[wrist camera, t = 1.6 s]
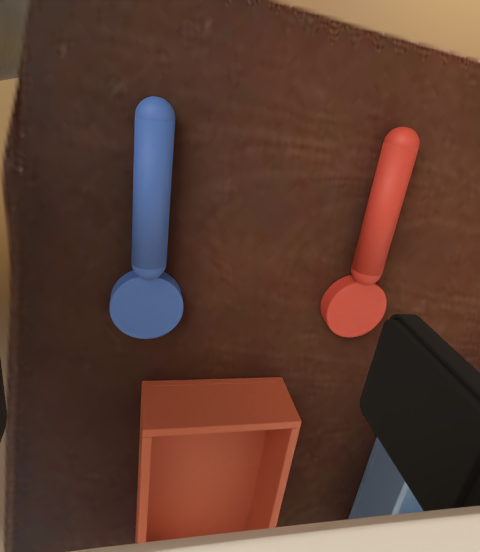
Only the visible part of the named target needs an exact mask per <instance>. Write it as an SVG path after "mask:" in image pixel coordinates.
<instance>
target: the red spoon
mask: <svg viewBox="0 0 480 552" xmlns="http://www.w3.org/2000/svg"><path fill="white" fill-rule="evenodd" d="M419 145H420V142H419V137H418V135H417V133H416V132H415V131H414V130H413V129H411V128H408V127H398V128H395V129H393V130H391V131H390V132H389V133H388V134H387V135H386V137H385V139H384V142H383V145H382V149H381V153H380V157H379V161H378V165H377V169H376V173H375V176H374V180H373V184H372V188H371V192H370V196H369V200H368V204H367V207H366V211H365V215H364V219H363V223H362V227H361V231H360V235H359V239H358V242H357V246H356V250H355V254H354V258H353V262H352V266H351V273H352V275H349V276H345V277H343V278H341V279H339V280H337V281H336V282H334V283H333V284H332V285H331V286H330V287H329V288H328V289H327V291H326V292H325V294H324V296H323V298H322V301H321V309H320V310H321V315H322V317H323V319H324V321H325V322H326V324H327V325H328V327H329V328H330V329H331V330H332V331H333V332H334V333H335V334H337V335H339V336H342V337H357V336H360V335H363V334H365V333H367V332H369V331H370V330H372V329H373V328H374V327H375V326H376V325H377V324H378V323H379V322H380V321H381V319H382V317H383V315H384V313H385V310H386V304H387V302H386V296H385V293H384V292H383V290H382V289H381V288H380V287H379V286H378V285H377V284H376V283H375V282H377V281H378V280H379V279H380V277H381V275H382V272H383V269H384V265H385V262H386V259H387V255H388V252H389V248H390V245H391V241H392V238H393V235H394V231H395V228H396V224H397V221H398V218H399V214H400V211H401V207H402V204H403V200H404V197H405V194H406V190H407V187H408V183H409V180H410V176H411V173H412V170H413V166H414V163H415V159H416V156H417V153H418V149H419Z"/></svg>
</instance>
